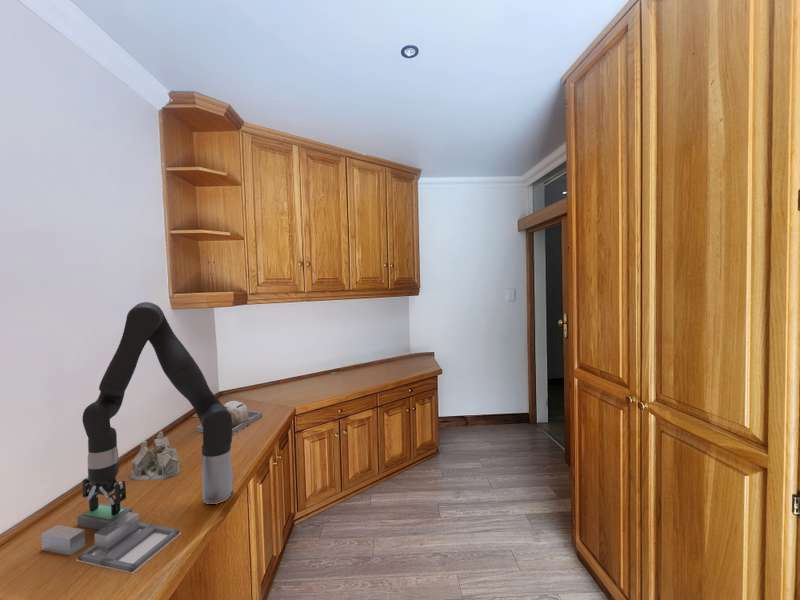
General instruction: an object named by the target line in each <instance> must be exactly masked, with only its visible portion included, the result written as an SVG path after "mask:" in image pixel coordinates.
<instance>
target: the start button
mask: <svg viewBox="0 0 800 600" xmlns="http://www.w3.org/2000/svg"><path fill="white" fill-rule="evenodd" d="M98 505H99V504H98ZM124 511H125V509H120V512H119V513H118V514H116V515H114V516H113V515H111V507H110V506H104V505H99V506H98V509H96V510H94V511H93V512H92V511H89V512H87V511H86V512H87V513H86V514H84V515H85V516H88V517H93V518H99V519H104V520H109V521H110V520H112V519H113V518H115V517H116V516H118V515H120V514H121V513H123V512H124Z"/></svg>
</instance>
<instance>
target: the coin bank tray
mask: <svg viewBox="0 0 800 600" xmlns="http://www.w3.org/2000/svg"><path fill="white" fill-rule="evenodd" d="M248 413H249V416H248V417H250V418H248V420H247V421H245V422H243V423H241V424H240V425H238V426H236V427H232V434H233V433H235V432H236V433H238V432H240V431H241V430H243V429H245V428H246V427H248V426H249V425H251V424H253V423H254V422H256V421H257V419H258V420H260V419H261V418H262V417H263V412H262V411H250V410H248ZM252 416H253V417H252ZM260 417H261V418H260ZM255 420H256V421H255ZM252 422H253V423H252ZM250 423H251V424H250ZM247 425H248V426H247ZM244 427H245V428H244ZM242 428H243V429H242ZM240 429H241V430H240ZM239 430H240V431H239ZM237 431H238V432H237ZM195 432H196V433H200V432H203V426H202V424H201V423H200V425H198V426H196V427H195ZM236 433H235V434H236ZM233 435H234V434H233Z"/></svg>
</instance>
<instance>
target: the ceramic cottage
mask: <svg viewBox="0 0 800 600" xmlns="http://www.w3.org/2000/svg"><path fill="white" fill-rule="evenodd" d="M147 443H148V442H147V440H142V441H141V443H140V450H139V451H138V453H137V454H136V456H135V457H134V458H133V460H131V463H133V464H132V469H131V470H130V474H129V477H130V479H132V480H133V481H134V480H135V481H150V480H151V481H161V480H165V479H168V478H170V477H174V476H176V475H179V473H180V464H179V461H178V460H179V455H178V453H177V452H178V450H177V448H169V447H170V442H169V439H168V436H165V437H164V433H163V431H159V434H158V435H157V436H156V439H153V442H152V443H153V445H152V447H153V448H152V449H148V444H147Z"/></svg>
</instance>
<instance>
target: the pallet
mask: <svg viewBox="0 0 800 600" xmlns="http://www.w3.org/2000/svg"><path fill="white" fill-rule="evenodd" d="M181 533H182V532H180V529H177V528H172V527H166V526H162V525H156V524H152V523H151V524H150V523H147V522H140V521H139V533H137V534H136V535H135V536H133V537H132V538H131V539H129V540H128V541H127V542H125V543H124V544H122V545H121V546H120V547H118V548H117V549H116V550H114V551H113V552H111V553H110V554H109V555H107V556H106V557H105V556H100V555H96V554H95V544H94V545H92V546H90V547H89V548H87V549H85V551H83V552H82V553H80V554H79V555H77V559H76V560H75V561H76V562H80V563H86V564H89V565H93V566H96V567H101V568H102V567H103V568H106V569H110V570H116V571H120V572H124V573H129V574H134V573H135V572H136V571H138V570H139V569H140V568H141V567H142V566H144V565H145V564H146V563H147V562H148V561H149V560H151V559H152V558H154V556H156V555H157V554H158V553H159V552H161V551H162V550H163V549H164V548H165V547H166V546H168V545H169V544H170V543H171V542H173V541H174V540H175V539H176V538H178V536H180V535H181Z"/></svg>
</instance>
